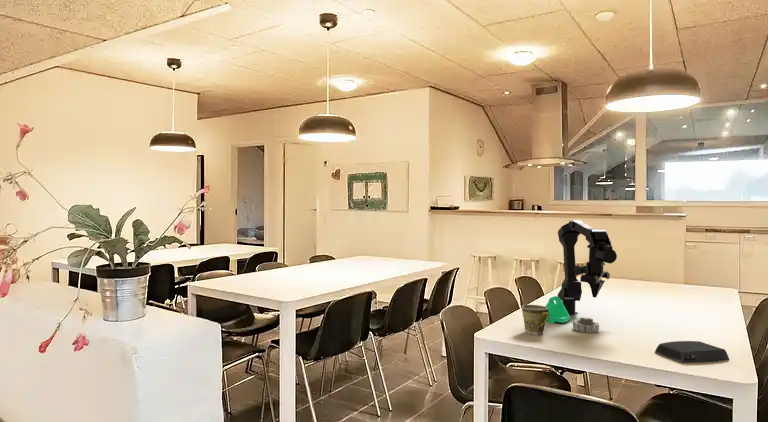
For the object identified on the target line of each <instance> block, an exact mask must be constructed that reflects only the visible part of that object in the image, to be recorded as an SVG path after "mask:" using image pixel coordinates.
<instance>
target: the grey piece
mask: <svg viewBox="0 0 768 422" xmlns="http://www.w3.org/2000/svg"><path fill="white" fill-rule="evenodd" d="M579 321H580V319H576V320H573V321H572V330H574V331H577V332H580V333H585V334H596V333H599V330H600V324H599V322H598V321H597V322H596V321H594V320H593V325H586V324H580V323H579Z"/></svg>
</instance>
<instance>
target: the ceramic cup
mask: <svg viewBox="0 0 768 422" xmlns="http://www.w3.org/2000/svg"><path fill="white" fill-rule="evenodd" d="M545 306H546V305H539V304H523V305H522V306H521V312H522V318H523V323H524V330H525V333H526V334H529V335H531V336H534V335H535V336H541V335H542V336H543V334H544V331H545V327H546V326H545V325H546V323H547V322H546V321H548V320H549V318H550V316H549V313H548V310H549V308H548V307H545ZM547 315H548V319H547V320H546V318H547Z"/></svg>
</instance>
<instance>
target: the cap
mask: <svg viewBox="0 0 768 422" xmlns="http://www.w3.org/2000/svg"><path fill="white" fill-rule="evenodd" d="M579 320H580V321H579V323H580V324H586V325H593V321H594V319H593V318H590V317H579Z"/></svg>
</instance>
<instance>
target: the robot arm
mask: <svg viewBox="0 0 768 422" xmlns="http://www.w3.org/2000/svg"><path fill="white" fill-rule="evenodd" d="M580 235H581V236H584V237H585V240H586V241H587V243H589V244H588V245H587V246H586V248H588V251H589V252H588V261H587V262H586V263H585V265H580V264H578V265H576V253H575V251H576V249H575V247H576V244H577V242H578V240H579V238H578V237H579V236H580ZM557 236H558V241H559V243H560V244H561V247H562V249H563V250H562V251H563V266H564V267H563V269H564V279H563V281H562V283H561V288H560V290H559V291H558V293H557V296H558V297H559V298H560V299H561V301H562V303H563V305H564V306H565V308H566V310H567V312H568V314H569V316H575V315H578V314H579V313H578V311H576V304H577V303H576V302H580V301H581V298H582V294H583V290H582V283H587V284H588V285H589V287H590V291H591V295H592V298H598V295H599V293H600V291H601V289H602V287H603V286H604V284H605V282H606V280H603V279H607V280H609V279H610V278H611V277H610V276H611V274H610V273H609V271H607V270H604V266H605V265H606V263H607V264H612V263H614V262H616V260H617V257H618V254H617V251H616V250H614V249H613V245H612V242H611V239H610V237H609V235H608V233H607V231H606V230H605V229H601V228H594V227H592V226H590V225H588V224H586V223H585V222H583V221H582V220H580V219H572V220H569V221H568V223H565V224H564V225H561V227H560V228H559V229H558V230H557ZM580 275H581V276H580ZM577 276H580V279H579V280H578V278H577Z"/></svg>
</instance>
